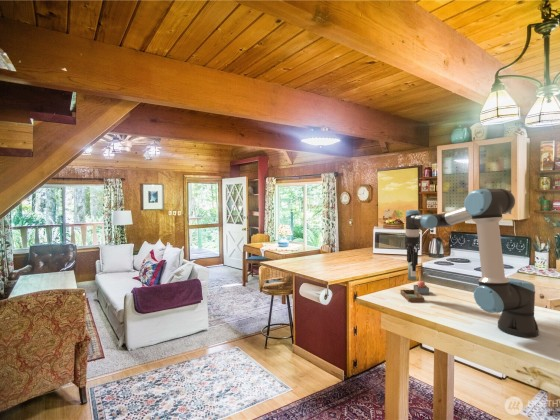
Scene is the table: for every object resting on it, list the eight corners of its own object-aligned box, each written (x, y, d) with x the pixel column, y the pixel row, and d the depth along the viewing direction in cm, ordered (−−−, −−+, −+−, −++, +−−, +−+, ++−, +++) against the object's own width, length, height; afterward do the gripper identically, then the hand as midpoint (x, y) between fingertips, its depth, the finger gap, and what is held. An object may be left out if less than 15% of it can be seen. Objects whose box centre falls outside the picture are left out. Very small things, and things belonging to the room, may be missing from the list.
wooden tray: (424, 302, 189) (424, 297, 188) (408, 302, 189) (408, 297, 189) (414, 293, 204) (414, 289, 204) (400, 293, 205) (400, 289, 205)
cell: (417, 280, 194) (417, 263, 193) (409, 280, 194) (409, 263, 193) (414, 278, 198) (414, 261, 198) (406, 278, 199) (406, 261, 198)
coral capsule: (425, 292, 204) (425, 282, 204) (419, 292, 204) (419, 282, 204) (423, 290, 208) (423, 281, 208) (416, 290, 208) (416, 280, 208)
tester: (429, 294, 202) (429, 288, 202) (417, 294, 203) (417, 287, 203) (424, 291, 209) (424, 284, 209) (413, 290, 210) (413, 284, 210)
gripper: (424, 238, 186) (423, 279, 187) (413, 234, 203) (413, 271, 204) (410, 238, 186) (410, 279, 188) (401, 234, 203) (401, 271, 205)
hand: (411, 275), depth 196 cm, fingers closed on cell, 4 cm apart
